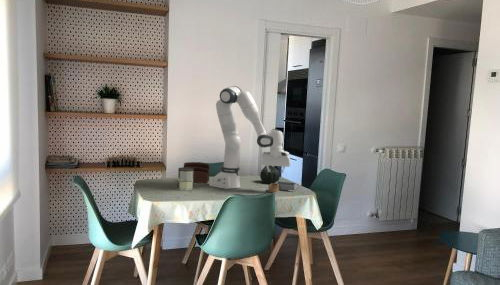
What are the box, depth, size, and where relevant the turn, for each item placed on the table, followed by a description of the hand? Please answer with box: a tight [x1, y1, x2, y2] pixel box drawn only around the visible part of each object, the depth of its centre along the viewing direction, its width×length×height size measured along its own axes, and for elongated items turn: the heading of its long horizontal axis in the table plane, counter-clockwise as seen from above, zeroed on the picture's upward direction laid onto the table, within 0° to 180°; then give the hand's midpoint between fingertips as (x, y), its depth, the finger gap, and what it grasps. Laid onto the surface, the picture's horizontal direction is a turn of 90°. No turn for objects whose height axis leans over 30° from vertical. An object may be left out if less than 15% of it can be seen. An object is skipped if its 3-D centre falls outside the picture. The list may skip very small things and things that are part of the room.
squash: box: [259, 165, 280, 184], centre depth 317 cm, size 14×15×15 cm
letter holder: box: [183, 161, 211, 184], centre depth 306 cm, size 10×20×14 cm, turn 88°
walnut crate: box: [268, 183, 280, 193], centre depth 287 cm, size 6×9×5 cm, turn 164°
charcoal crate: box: [275, 180, 298, 191], centre depth 297 cm, size 15×13×4 cm
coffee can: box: [177, 166, 194, 191], centre depth 279 cm, size 10×10×14 cm
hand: (275, 172), depth 286 cm, fingers open, 8 cm apart
